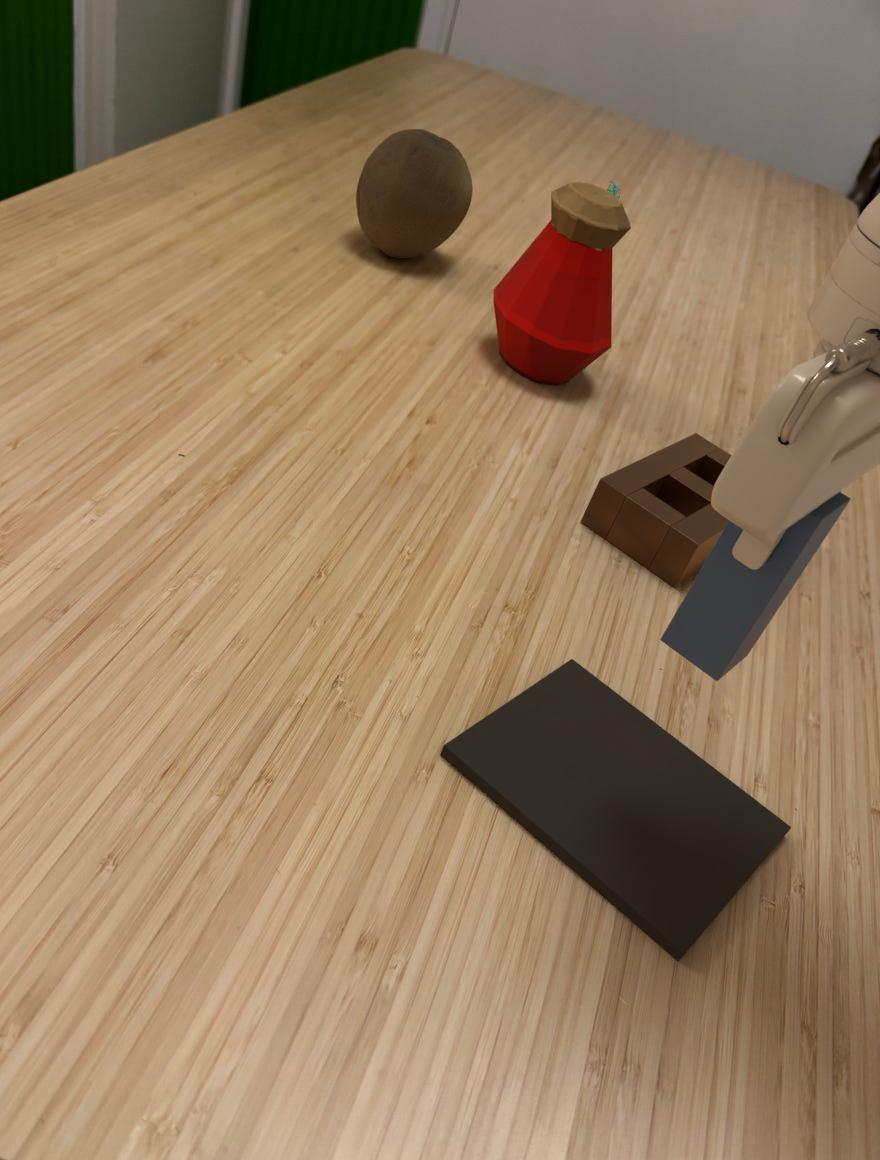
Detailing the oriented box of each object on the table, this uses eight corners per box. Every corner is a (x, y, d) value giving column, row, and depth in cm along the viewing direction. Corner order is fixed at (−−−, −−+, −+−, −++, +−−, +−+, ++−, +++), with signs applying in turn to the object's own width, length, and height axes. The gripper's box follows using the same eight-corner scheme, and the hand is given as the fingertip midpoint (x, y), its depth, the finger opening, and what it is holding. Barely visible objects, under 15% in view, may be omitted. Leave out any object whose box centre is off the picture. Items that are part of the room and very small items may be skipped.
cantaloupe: (415, 287, 130) (450, 165, 120) (324, 240, 133) (351, 117, 124) (467, 265, 140) (503, 151, 131) (381, 222, 144) (410, 107, 134)
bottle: (615, 398, 121) (690, 230, 108) (525, 402, 114) (595, 223, 101) (541, 330, 130) (602, 168, 117) (453, 330, 123) (508, 158, 110)
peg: (747, 656, 64) (851, 498, 57) (716, 681, 61) (822, 519, 54) (691, 616, 66) (785, 458, 58) (659, 640, 63) (754, 476, 55)
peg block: (762, 529, 107) (786, 489, 104) (674, 588, 94) (698, 544, 91) (675, 472, 111) (696, 432, 108) (580, 522, 98) (600, 478, 95)
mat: (784, 835, 74) (791, 827, 73) (678, 961, 63) (685, 953, 62) (567, 667, 81) (572, 658, 81) (439, 754, 71) (443, 744, 70)
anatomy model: (572, 165, 174) (586, 175, 169) (614, 176, 176) (629, 185, 171) (562, 197, 177) (575, 208, 171) (603, 207, 179) (618, 217, 174)
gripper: (897, 392, 41) (736, 643, 50) (1025, 318, 55) (880, 525, 64) (764, 318, 44) (632, 570, 53) (918, 264, 58) (792, 471, 66)
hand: (769, 544), depth 58 cm, fingers closed on peg, 4 cm apart
